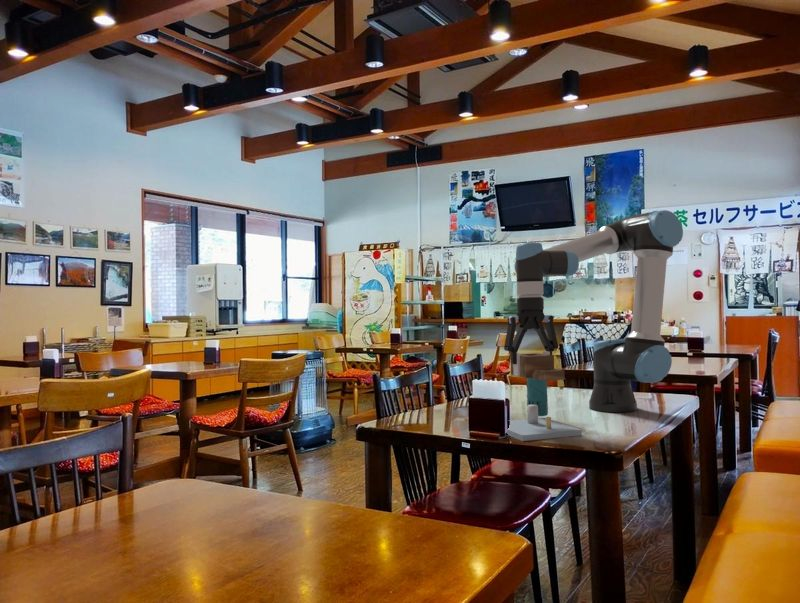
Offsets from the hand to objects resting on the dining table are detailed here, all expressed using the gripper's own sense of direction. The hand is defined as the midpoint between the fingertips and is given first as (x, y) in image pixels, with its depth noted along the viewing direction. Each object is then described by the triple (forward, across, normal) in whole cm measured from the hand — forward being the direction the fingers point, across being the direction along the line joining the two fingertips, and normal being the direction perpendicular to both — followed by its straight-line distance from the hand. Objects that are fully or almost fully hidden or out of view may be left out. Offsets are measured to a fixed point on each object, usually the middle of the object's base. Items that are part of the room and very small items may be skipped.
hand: (532, 374), depth 177 cm
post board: (+15, +2, +4) cm, 16 cm away
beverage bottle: (+16, -8, -11) cm, 21 cm away
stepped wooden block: (0, 0, +4) cm, 4 cm away
